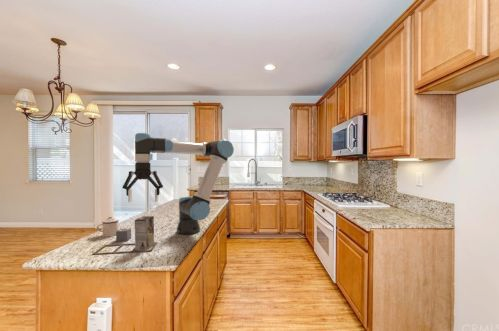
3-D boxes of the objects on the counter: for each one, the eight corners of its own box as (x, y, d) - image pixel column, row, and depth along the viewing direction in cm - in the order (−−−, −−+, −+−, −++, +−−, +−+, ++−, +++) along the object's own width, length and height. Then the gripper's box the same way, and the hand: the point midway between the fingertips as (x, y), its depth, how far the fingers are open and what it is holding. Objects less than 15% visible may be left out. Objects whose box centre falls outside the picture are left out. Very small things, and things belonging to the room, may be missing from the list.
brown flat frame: (157, 243, 132) (157, 242, 132) (151, 251, 119) (151, 250, 119) (104, 245, 128) (104, 244, 128) (92, 254, 115) (92, 253, 115)
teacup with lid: (119, 231, 155) (119, 214, 154) (117, 235, 146) (117, 217, 146) (98, 233, 150) (98, 216, 150) (95, 238, 142) (94, 219, 142)
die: (131, 237, 142) (130, 227, 141) (127, 241, 136) (127, 230, 136) (120, 238, 141) (120, 228, 141) (116, 241, 135) (116, 231, 135)
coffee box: (143, 244, 130) (142, 216, 130) (154, 244, 130) (154, 215, 129) (134, 250, 120) (134, 220, 120) (146, 250, 120) (146, 220, 120)
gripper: (168, 162, 130) (168, 199, 130) (121, 162, 127) (121, 200, 128) (165, 161, 123) (165, 202, 123) (115, 162, 120) (115, 203, 120)
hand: (143, 201), depth 125 cm, fingers open, 13 cm apart
